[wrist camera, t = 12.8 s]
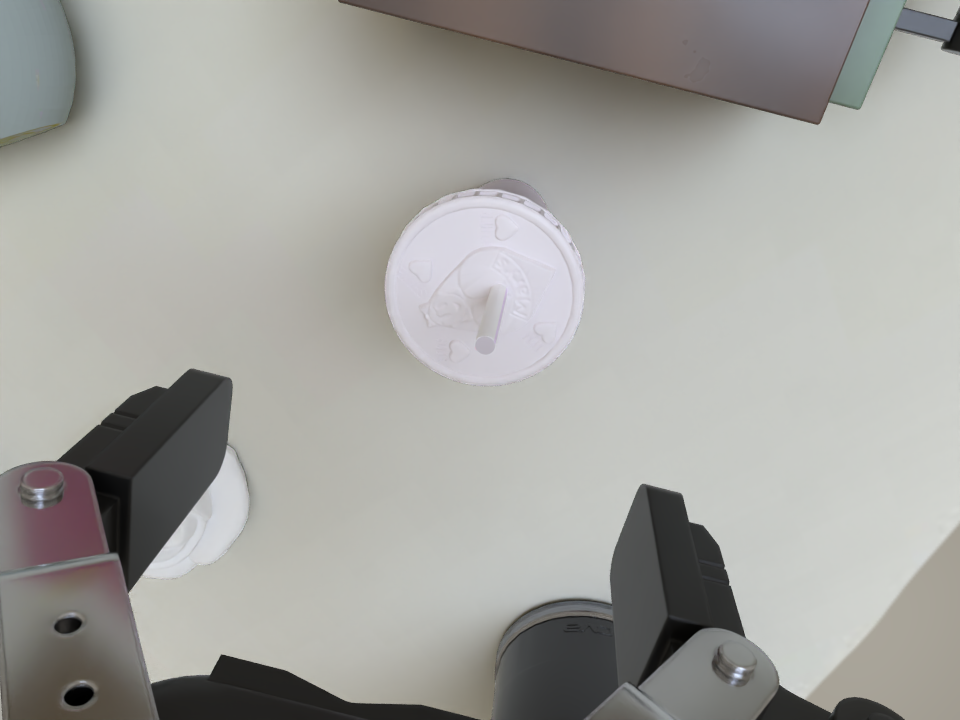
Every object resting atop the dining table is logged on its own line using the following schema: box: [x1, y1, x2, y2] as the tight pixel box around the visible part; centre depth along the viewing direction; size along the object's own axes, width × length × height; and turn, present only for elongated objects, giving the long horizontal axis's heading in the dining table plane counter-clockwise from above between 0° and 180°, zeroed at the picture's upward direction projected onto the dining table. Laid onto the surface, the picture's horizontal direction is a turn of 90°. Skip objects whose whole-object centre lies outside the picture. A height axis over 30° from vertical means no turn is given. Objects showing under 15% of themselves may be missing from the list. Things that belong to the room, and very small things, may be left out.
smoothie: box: [385, 179, 585, 386], centre depth 26 cm, size 6×6×14 cm
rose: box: [142, 445, 250, 580], centre depth 38 cm, size 10×4×10 cm
